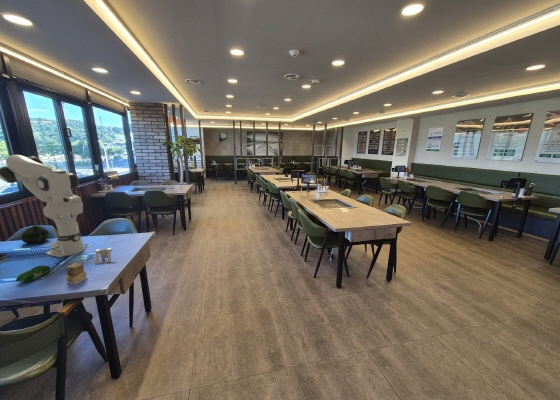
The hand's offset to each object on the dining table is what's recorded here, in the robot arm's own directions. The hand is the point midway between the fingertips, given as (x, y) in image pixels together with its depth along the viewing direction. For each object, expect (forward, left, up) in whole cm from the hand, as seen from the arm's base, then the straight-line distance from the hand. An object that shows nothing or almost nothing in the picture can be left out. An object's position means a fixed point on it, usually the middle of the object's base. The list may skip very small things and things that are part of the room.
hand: (66, 220), depth 133 cm
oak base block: (+11, -9, -32) cm, 35 cm away
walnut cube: (+11, -9, -28) cm, 32 cm away
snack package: (-16, -10, -34) cm, 39 cm away
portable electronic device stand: (+6, +14, -33) cm, 37 cm away
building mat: (+9, -8, -33) cm, 35 cm away
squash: (-75, +35, -33) cm, 89 cm away
